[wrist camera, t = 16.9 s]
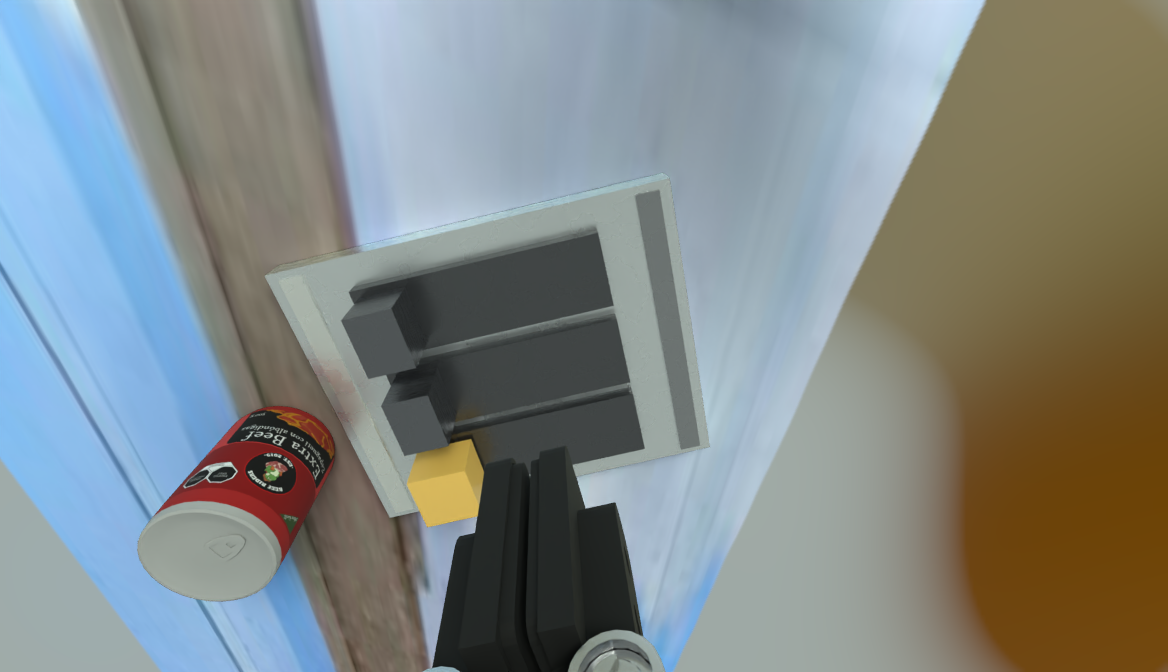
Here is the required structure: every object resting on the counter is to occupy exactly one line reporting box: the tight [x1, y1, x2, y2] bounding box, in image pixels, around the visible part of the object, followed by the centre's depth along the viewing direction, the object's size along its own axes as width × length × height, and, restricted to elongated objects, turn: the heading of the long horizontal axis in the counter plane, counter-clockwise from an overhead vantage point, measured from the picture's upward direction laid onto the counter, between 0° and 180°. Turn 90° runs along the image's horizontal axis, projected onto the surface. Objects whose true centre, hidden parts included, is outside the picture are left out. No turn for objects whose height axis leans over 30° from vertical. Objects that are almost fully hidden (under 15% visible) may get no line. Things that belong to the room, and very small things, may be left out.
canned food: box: [137, 406, 335, 601], centre depth 37 cm, size 8×8×11 cm
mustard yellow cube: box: [407, 439, 484, 527], centre depth 39 cm, size 4×4×4 cm
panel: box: [265, 173, 710, 518], centre depth 37 cm, size 26×21×6 cm
